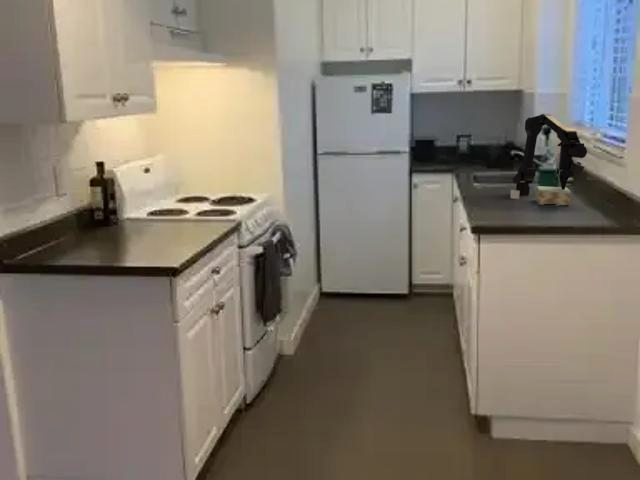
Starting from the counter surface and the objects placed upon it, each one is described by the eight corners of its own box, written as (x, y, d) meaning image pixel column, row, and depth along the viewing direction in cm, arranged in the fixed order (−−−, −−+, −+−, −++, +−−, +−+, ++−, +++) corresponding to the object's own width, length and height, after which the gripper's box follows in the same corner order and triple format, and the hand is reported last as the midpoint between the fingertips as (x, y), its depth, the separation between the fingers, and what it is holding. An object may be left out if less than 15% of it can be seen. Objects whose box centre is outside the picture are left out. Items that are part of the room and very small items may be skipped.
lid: (539, 191, 325) (539, 189, 325) (537, 187, 339) (537, 186, 338) (570, 193, 322) (570, 191, 322) (567, 189, 336) (567, 187, 335)
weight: (510, 198, 343) (511, 190, 342) (510, 197, 346) (511, 189, 346) (518, 199, 342) (519, 191, 341) (518, 198, 345) (519, 190, 345)
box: (537, 204, 327) (539, 191, 325) (535, 200, 340) (537, 187, 339) (569, 206, 324) (570, 193, 322) (565, 201, 337) (567, 189, 336)
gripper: (587, 158, 316) (583, 192, 319) (581, 155, 333) (578, 188, 336) (561, 157, 318) (558, 191, 321) (557, 154, 336) (554, 186, 339)
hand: (563, 189), depth 329 cm, fingers closed, pressing on lid
